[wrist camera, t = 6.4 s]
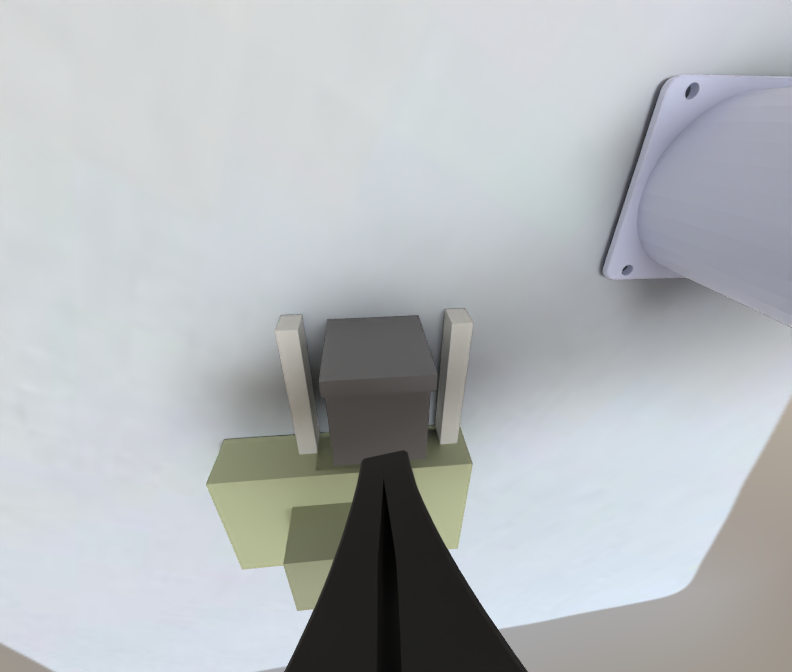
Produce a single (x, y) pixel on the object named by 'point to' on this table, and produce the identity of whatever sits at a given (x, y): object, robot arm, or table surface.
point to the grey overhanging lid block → (376, 387)
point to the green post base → (331, 471)
